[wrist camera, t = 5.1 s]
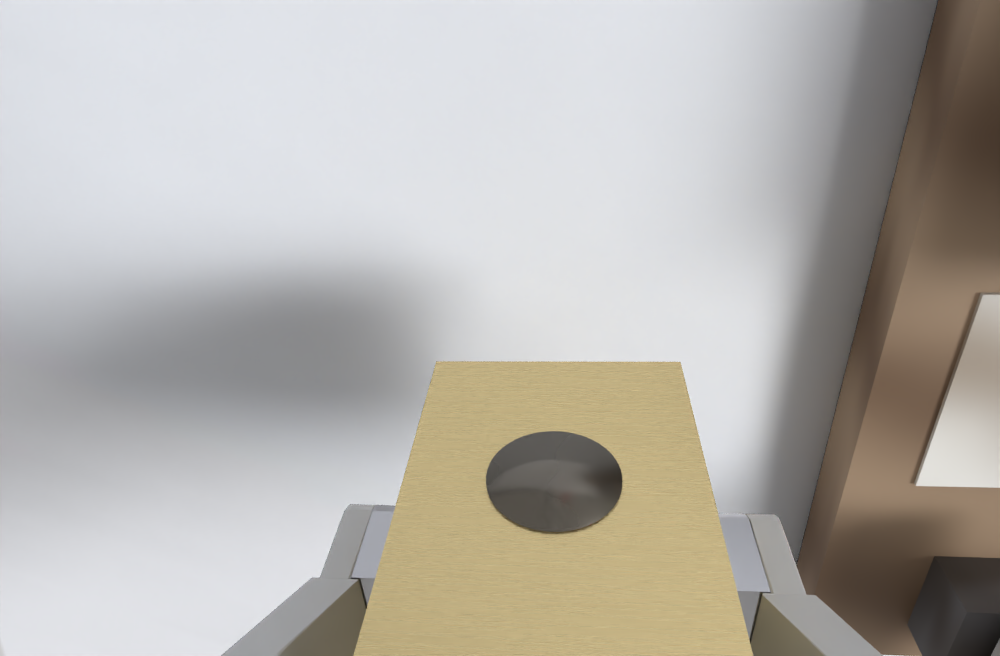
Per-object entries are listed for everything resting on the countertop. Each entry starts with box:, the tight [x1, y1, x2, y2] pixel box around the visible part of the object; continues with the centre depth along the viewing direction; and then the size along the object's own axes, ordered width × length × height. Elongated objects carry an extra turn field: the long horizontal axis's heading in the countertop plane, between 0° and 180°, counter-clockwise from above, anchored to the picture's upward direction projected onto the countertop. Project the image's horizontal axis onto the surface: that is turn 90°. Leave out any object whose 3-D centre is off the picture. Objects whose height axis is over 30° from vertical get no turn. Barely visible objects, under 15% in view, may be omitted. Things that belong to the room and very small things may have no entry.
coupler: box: [353, 362, 753, 656], centre depth 11 cm, size 5×4×6 cm
